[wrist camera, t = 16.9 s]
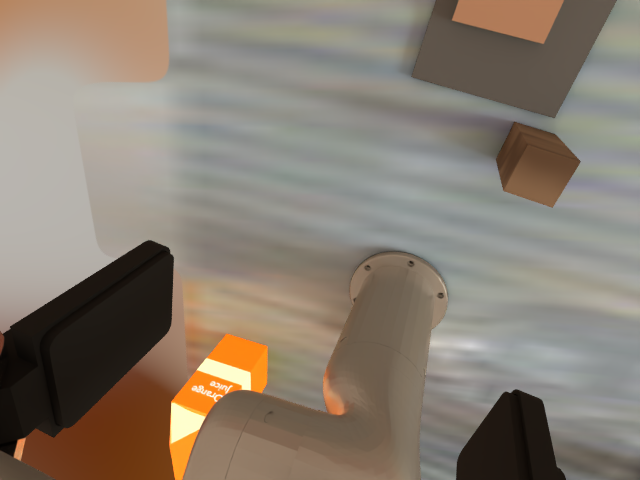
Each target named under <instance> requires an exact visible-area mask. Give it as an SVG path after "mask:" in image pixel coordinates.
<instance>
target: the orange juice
mask: <svg viewBox="0 0 640 480" xmlns="http://www.w3.org/2000/svg"><path fill="white" fill-rule="evenodd" d="M266 384H267V346H264V345H261V344H258V343H255V342H251V341H248V340H245V339H242V338H238V337H235V336H232V335H229V334H226V335H225V337H224V338H223V339H222V340H221V342H220V343H219V344H218V345H217V346H216V348H215V349H214V350H213V351H212V353H211V354H210V355H209V356H208V357H207V358H206V359H205V361H204V362H203V363H202V364H201V366H200V367H199V368H198V369H197V371H196V372H195V373H194V375H193V376H192V377H191V378H190V380H189V381H188V382H187V383H186V384H185V386H184V387H183V388H182V390H181V391H180V392H179V393H178V394H177V395H176V397H175V398H174V399H173V400H172V405H171V428H170V450H171V456H172V462H173V468H174V473H175V480H182V478H183V475H184V472H185V468H186V465H187V462H188V459H189V456H190V453H191V450H192V447H193V444H194V441H195V439H196V436H197V434H198V432H199V429H200V427H201V425H202V423H203V421H204V419H205V417H206V415H207V414H208V412H209V411H210V409H211V408H212V406H213V405H214V404H215V403H216V402H217V401H218V400H219V399H220V398H221V397H222V396H224V395H225V394H227V393H229V392H232V391H234V390H252V391H256V392H260V393H262V391H263V389H264V387H265V386H266Z"/></svg>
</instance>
